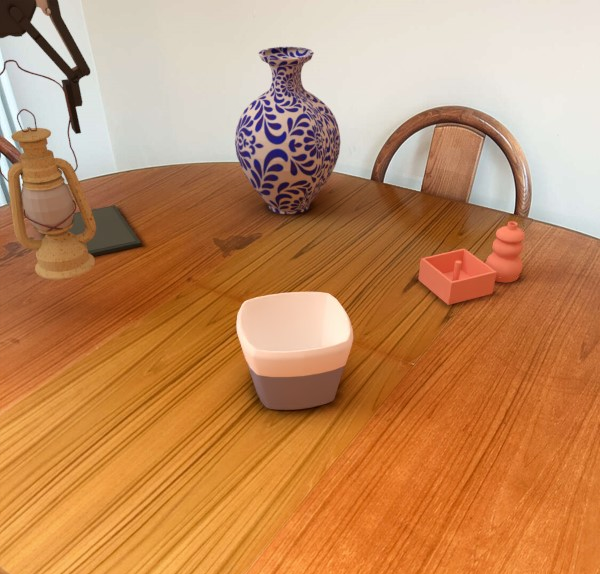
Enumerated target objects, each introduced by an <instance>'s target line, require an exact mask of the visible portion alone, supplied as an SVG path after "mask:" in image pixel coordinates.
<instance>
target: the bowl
mask: <svg viewBox="0 0 600 574" xmlns="http://www.w3.org/2000/svg"><path fill="white" fill-rule="evenodd" d="M235 323H236V333H237V334H236V335H237V337H238V341H239V344H240V346H241V350H242V353H243V356H244V359H245V361H246V364H247V367H248V370H249V373H250V376H251V379H252V382H253V385H254V388H255V391H256V394H257V396H258V399H259V400H260V402H261V404H263V406H264V407H265V408H267V409H270V410H278V411H279V410H280V411H283V410H284V411H287V410H289V411H291V410H294V411H295V410H304V409H309V408H315V407H319V406H322V405H327V404H329V403H331V402H333V401H334V400H335V398H336V396H337V395H336V394H337V391H338V388H339V385H340V384H341V383H340V382H341V379H342V377H343V373H344V370H345V367H346V365H347V362H348V359H349V355H350V353H351V351H352V350H351V349H352V346H353V342H354V329H353V325H352V322H351V319H350V317H349V315H348V313H347V312H346V310H345V308H344V307H343V305H342V304H341V303H340V301H338V299H337V298H336V297H334V296H333V295H332V294H330V293H328V292H321V291H295V292H293V291H291V292H281V293H280V292H279V293H274V294H266V295H262V296H256V297H253V298H249V299H247V300H244V302H242V304H241V306H240V307H239V310H238V311H237V316H236V322H235Z"/></svg>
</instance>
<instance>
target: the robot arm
mask: <svg viewBox="0 0 600 574" xmlns="http://www.w3.org/2000/svg"><path fill="white" fill-rule="evenodd" d="M37 8H39V9H40V10H41V12H42V13H43V14H44V15H45V16H48V17H49V19H50V21H51V23H52V25H53V26H54V28H55V30H56V32H57V34H58V36H59V37H60V39H61V42H62V43H63V44H64V46H65V48H66V50H67V52H68V53H69V55H70V57H71V59H72V61H73V62H74V64H75V66H74V67H72V68H71V66H70V65H69V64H68V63H67V62H66V61H65V60H64V59H63V57H62V56H61V54H59V53H58V52H57V50H56V49H55V47H53V46H52V45H51V43H49V41H48V40H47V39H46V38H45V37H44V36H43V35H42V34H41V32H40V31H39V30H38V29H37V28H36V27H35V26H34V24H33V23H32V20H33V18H34V16H35V12H36V10H37ZM26 33H27V34H28V36H30V38H31V39H32V40H33V41H34V42H35V43H36V45H37V46H38V47H39V48H40V49H41V50H42V51H43V53H45V55H47V57H48V58H49V59H50V60H51V61H52V62H53V63H54V65H56V67H57V68H58V69H59V70H60V71H61V72H62V74H64V76H65V77H66V79H61V86H62V87H63V88H64V90H65V92H66V95H67V97H68V100H69V104H70V109H71V122H70V127H71V130H72V131H73V132H74V133H75V135H77V134H82V130H81V126H80V125H81V124H80V121H79V116H78V111H77V107H82V106H83V97H82V93H81V87H80V80H81V79H82V78H84V77H88V76H89V75H91V69H90V66H89V65H88V63H87V61H86V59H85V58H84V56H83V53H82V52H81V50H80V48H79V46H78V45H77V43H76V41H75V39H74V37H73V35H72V34H71V31H70V30H69V28H68V25H66V23H65V21H64V19H63V17H62V13H61V8H60V3H59V0H0V39H4V38H7V37H15V38H19V37H23V35H25V34H26ZM63 94H64V99H65V103H66V109H67V112H68V117H69V116H70V113H69V105H68V102H67V98H66V96H65V93H64V92H63Z"/></svg>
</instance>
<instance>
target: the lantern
mask: <svg viewBox="0 0 600 574" xmlns="http://www.w3.org/2000/svg"><path fill="white" fill-rule="evenodd" d="M10 62H13V63H15V64H16V66H17V68H18V69H20V70H21V71H23V72H24V73H28V74H31V75H34V76H37V77H41V78H44V79H48V80H50V81H52V82H54V83H56V84H57V85H58V86H59V87H60V88H61V90H62V92H63V94H64V93H65V94H64V97H65V96H66V98H67V102H68V105H69V113H70V116H69V115H68V117H69V118H68V124H67V131H66V132H67V138H68V144H69V149H70V150H71V152H72V155H73V158H74V160H75V169H74V167H73V166H72V164H71V163H70V162H69V161H67V160H66V159H63V158H60V157H55V154H54V151H52V150H51V149H48V147H47V146H48V143H49V142H48V138H50V136H51V134H52V131H51V130H50V129H48V128H43V127H37V120H36V116H35V114H34V113H32V111H30V110H29V109H27V108H22V109H21V110H19V111H18V113H17V114H16V120H17V123H18V126H19V128H20V129H19V130H16V131H15V132H13V133H12V134H11V136H10V138H11V139H12V140H13V141H14V142H18V146H19V148H20V149H22V153H21V154H20V155H19V159H20V161H17V162H15V163H13V164H12V165H11V166H10V167H9V169H8V170H7V178H6V176H5V175H4V173H2V169H1V167H0V175H1V176H2V177H3V179H4V180H5V181H6V182H7V184H8V186H7V187H8V196H9V204H10V205H9V206H10V214H11V220H12V226H13V231H14V235H15V238H16V240H17V241H18V242H19V244H20V245H22V246H23V247H24V248H26V249H28V250H32V251H33V250H34V251H35V257H36V260H37V263H36V264H35V266H34V270H35V273H36V274H37V275H38V276H39V278H42V279H44V280H50V281H66V280H70V279H75V278H78V277H79V276H82V275H85V274H86V273H88V272H89V271H91V270H92V269H93V268H94V267H95V264H96V258H95V256H92V255H91V254H89V253H88V249H87V246H86V244H85V243H86V242H88V241H90V240H91V239H92V238H93V237H94V235H95V232H96V223H95V220H94V217H93V214H92V212H91V210H92V209H91V206H90V203H89V201H88V199H87V196H86V194H85V192H84V189H83V187H82V185H81V182H80V181H79V178H78V176H77V173H76V171H77V169H78V168H79V164H78V159H77V156H76V154H75V151H74V149H73V147H72V142H71V137H70V127H71V109H70V104H69V100H68V97H67V95H66V92H65V90H64V88H63V85H62V84H60V82H58V81H56V80H55V79H53V78H52V77H50V76H46V75H43V74H39V73H35V72H33V71H29V70H27V69H24V68H22V66H20V64H19V63H18V61H17V60H14V59H7V60H5V61H4V62H3V69H2V71H1V72H0V76H2V75H3V74H4V73H5V71H6V69H7V68H6V67H7V66H6V64H8V63H10ZM23 111H26V112H28V113H29V114H31V116H32V117H33V120H34V126H35V127H30V126H29V127H28V126H27V128H24V129H23V127H22V125H21V123H20V120H19V115H20V114H21V113H22V112H23ZM69 113H68V114H69ZM1 150H2V149H0V159H2V158H1V157H2V151H1ZM62 175H64V177H63V176H62ZM21 180H22V184H21ZM65 180H66V182H67V183H66V182H65ZM73 198H74V199H73ZM77 207H78V211H79V212H80V213H81V215H82V218H83V221H84V223H85V228H86V229H85V231H84V233H82V234H78V235H74V234H72V233H70V232H68V231H67V230H68V229H70V228H71V227H72V226H73V222H74V219H73V216H74V213H76V210H77ZM25 219H27V220H28V221H29V222H30V224H31V225H32V226H33V228H34V229H35V230H36V231H37V232H38V233H39V234H44V236H43V238H42V239H32V238H30V237H29V236H28V234H27V229H26V224H25ZM45 234H46V236H45Z"/></svg>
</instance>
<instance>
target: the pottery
mask: <svg viewBox="0 0 600 574" xmlns="http://www.w3.org/2000/svg"><path fill="white" fill-rule="evenodd" d="M518 225H519V224H518V222H516V221H508V222H507V225H504V226H501V227H499V228H497V230H496V232H495V236H496V238H495V239H494V240H493V242H492V251H493V252H491V253H489V255H488V256H487V257H486V260H485V262H484V261H482V260H481V259H479V257H477V256H476V255H474V254H473V253H471V252H470V251H468V250H467V249H466V248H460V249H456V250H452V251H447V252H443V253H439V254H434V255H430V256H425V257H421V258H420V263H419V271H418V278H417V279H418V281H419V282H420V283H421V284H423V286H425V287H426V288H427V289H428V290H430V291H431V292H432V293H433V294H434V295H435V296H437V297H438V298H439V299H440V300H442V301H443V302H444V303H445V304H446V305H447V306H451V305H453V304H458V303H461V302H465V301H470V300H473V299H477V298H481V297H485V296H489V295H492V294H493V292H494V287H495V282H498V283H506V284H507V283H513V282H515V281H517V280H518V279H519V277H520V275H521V274H520V273H522V271H523V269H524V268H523V267H524V265H523V259H522V258H521V256H520V255H521V254H522V253H523V250H524V244H523V240H524V239H525V238H526V237H525V236H526V235H525V232H524V231H523V229H522V228H520V227H518ZM519 274H520V275H519ZM518 275H519V276H518ZM516 276H517V277H516ZM499 277H501V278H499ZM511 277H514V278H511Z"/></svg>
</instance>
